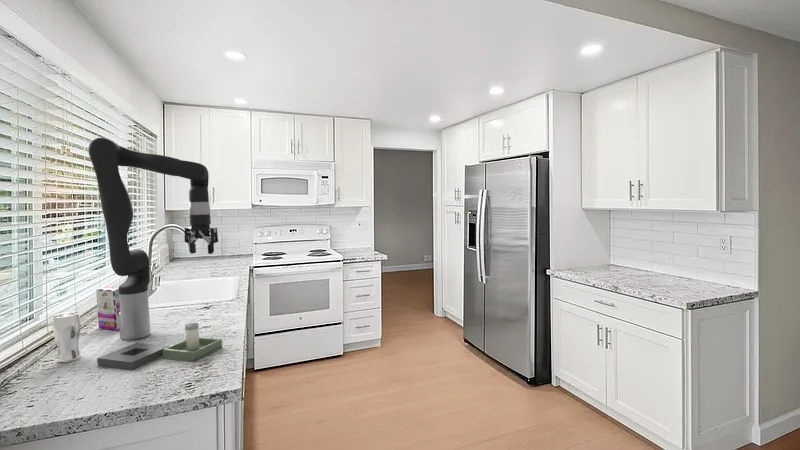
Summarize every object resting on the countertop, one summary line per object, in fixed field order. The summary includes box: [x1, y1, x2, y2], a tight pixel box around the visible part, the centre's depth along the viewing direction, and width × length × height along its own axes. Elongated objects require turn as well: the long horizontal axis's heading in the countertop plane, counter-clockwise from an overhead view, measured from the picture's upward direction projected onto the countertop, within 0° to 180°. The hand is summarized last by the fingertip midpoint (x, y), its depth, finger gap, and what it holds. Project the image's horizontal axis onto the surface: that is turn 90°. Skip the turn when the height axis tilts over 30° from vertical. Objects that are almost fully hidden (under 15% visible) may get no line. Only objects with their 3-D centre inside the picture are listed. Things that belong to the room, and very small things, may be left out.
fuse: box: [184, 322, 200, 352], centre depth 137 cm, size 4×4×9 cm
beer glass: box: [52, 311, 82, 363], centre depth 134 cm, size 7×7×15 cm
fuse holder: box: [96, 342, 170, 371], centre depth 133 cm, size 14×14×2 cm
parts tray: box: [162, 336, 223, 363], centre depth 137 cm, size 13×13×3 cm
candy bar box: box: [95, 286, 120, 331], centre depth 166 cm, size 11×5×16 cm, turn 68°
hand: (202, 253), depth 164 cm, fingers open, 8 cm apart
